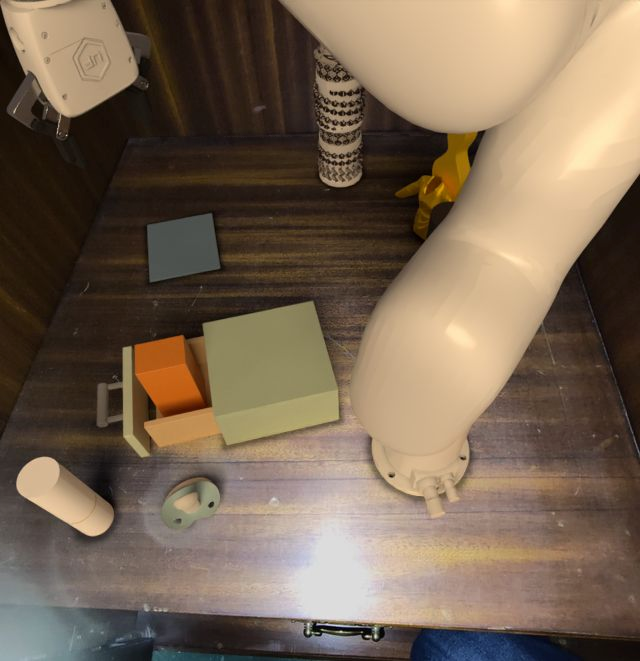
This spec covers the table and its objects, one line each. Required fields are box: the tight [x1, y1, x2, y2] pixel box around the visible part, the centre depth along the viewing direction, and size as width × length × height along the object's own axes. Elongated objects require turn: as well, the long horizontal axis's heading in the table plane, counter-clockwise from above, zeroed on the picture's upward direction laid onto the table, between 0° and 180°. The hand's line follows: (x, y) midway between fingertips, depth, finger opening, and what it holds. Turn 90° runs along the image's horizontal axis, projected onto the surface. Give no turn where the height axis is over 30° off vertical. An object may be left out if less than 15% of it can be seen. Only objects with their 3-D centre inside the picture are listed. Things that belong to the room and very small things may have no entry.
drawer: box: [96, 335, 222, 459], centre depth 70 cm, size 19×13×7 cm
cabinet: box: [202, 300, 340, 446], centre depth 71 cm, size 16×15×9 cm
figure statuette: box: [394, 131, 479, 241], centre depth 82 cm, size 18×8×22 cm, turn 33°
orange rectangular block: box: [134, 334, 207, 418], centre depth 67 cm, size 4×6×12 cm
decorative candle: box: [312, 43, 367, 188], centre depth 91 cm, size 9×9×25 cm
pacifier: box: [160, 477, 221, 531], centre depth 63 cm, size 7×6×6 cm
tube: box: [15, 456, 115, 537], centre depth 59 cm, size 4×4×15 cm
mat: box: [146, 212, 221, 283], centre depth 92 cm, size 14×12×1 cm
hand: (112, 141), depth 59 cm, fingers open, 9 cm apart
